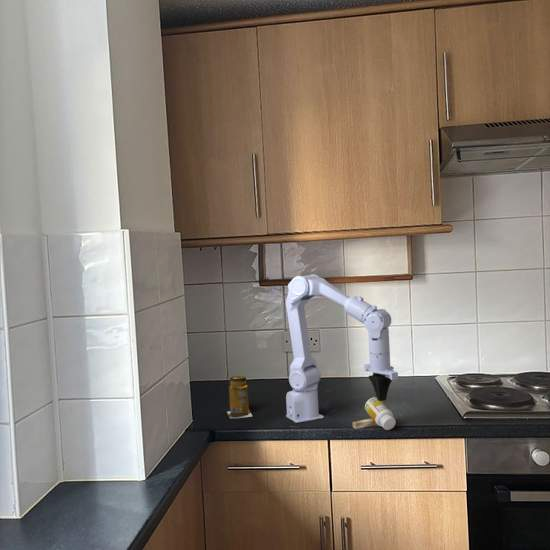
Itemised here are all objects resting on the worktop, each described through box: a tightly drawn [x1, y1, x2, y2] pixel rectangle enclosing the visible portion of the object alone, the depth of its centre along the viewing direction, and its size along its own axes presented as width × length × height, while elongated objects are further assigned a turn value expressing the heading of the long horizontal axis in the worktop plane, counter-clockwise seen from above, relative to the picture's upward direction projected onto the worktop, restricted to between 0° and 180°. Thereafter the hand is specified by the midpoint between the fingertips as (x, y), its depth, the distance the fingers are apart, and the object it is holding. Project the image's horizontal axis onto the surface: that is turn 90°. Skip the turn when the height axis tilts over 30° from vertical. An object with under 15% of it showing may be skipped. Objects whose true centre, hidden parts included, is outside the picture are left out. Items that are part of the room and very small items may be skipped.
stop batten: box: [352, 415, 395, 430], centre depth 166 cm, size 13×2×2 cm, turn 112°
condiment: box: [226, 375, 253, 419], centre depth 184 cm, size 7×8×12 cm
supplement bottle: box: [364, 396, 397, 431], centre depth 164 cm, size 5×5×10 cm
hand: (381, 400), depth 163 cm, fingers closed
